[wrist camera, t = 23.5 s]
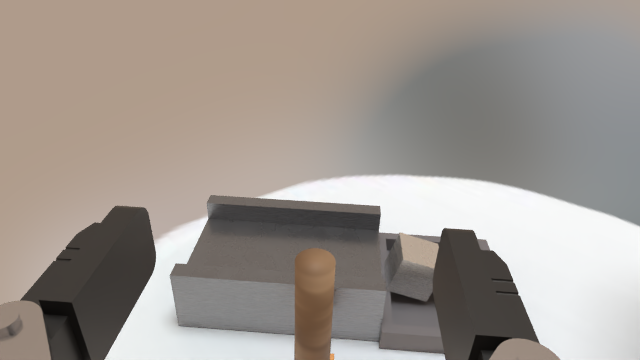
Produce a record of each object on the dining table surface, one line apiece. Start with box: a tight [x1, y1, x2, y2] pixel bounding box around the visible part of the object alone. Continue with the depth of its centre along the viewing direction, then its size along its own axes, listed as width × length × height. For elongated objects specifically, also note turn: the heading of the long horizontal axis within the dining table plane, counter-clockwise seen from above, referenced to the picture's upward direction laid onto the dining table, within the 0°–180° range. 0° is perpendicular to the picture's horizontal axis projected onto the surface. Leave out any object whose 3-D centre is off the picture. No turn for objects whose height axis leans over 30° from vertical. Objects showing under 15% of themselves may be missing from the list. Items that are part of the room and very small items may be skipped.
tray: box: [379, 233, 490, 353], centre depth 46 cm, size 12×14×2 cm
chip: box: [384, 233, 439, 301], centre depth 44 cm, size 4×4×4 cm
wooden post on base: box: [295, 248, 336, 360], centre depth 31 cm, size 3×6×15 cm, turn 176°
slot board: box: [170, 195, 386, 341], centre depth 45 cm, size 18×12×6 cm
